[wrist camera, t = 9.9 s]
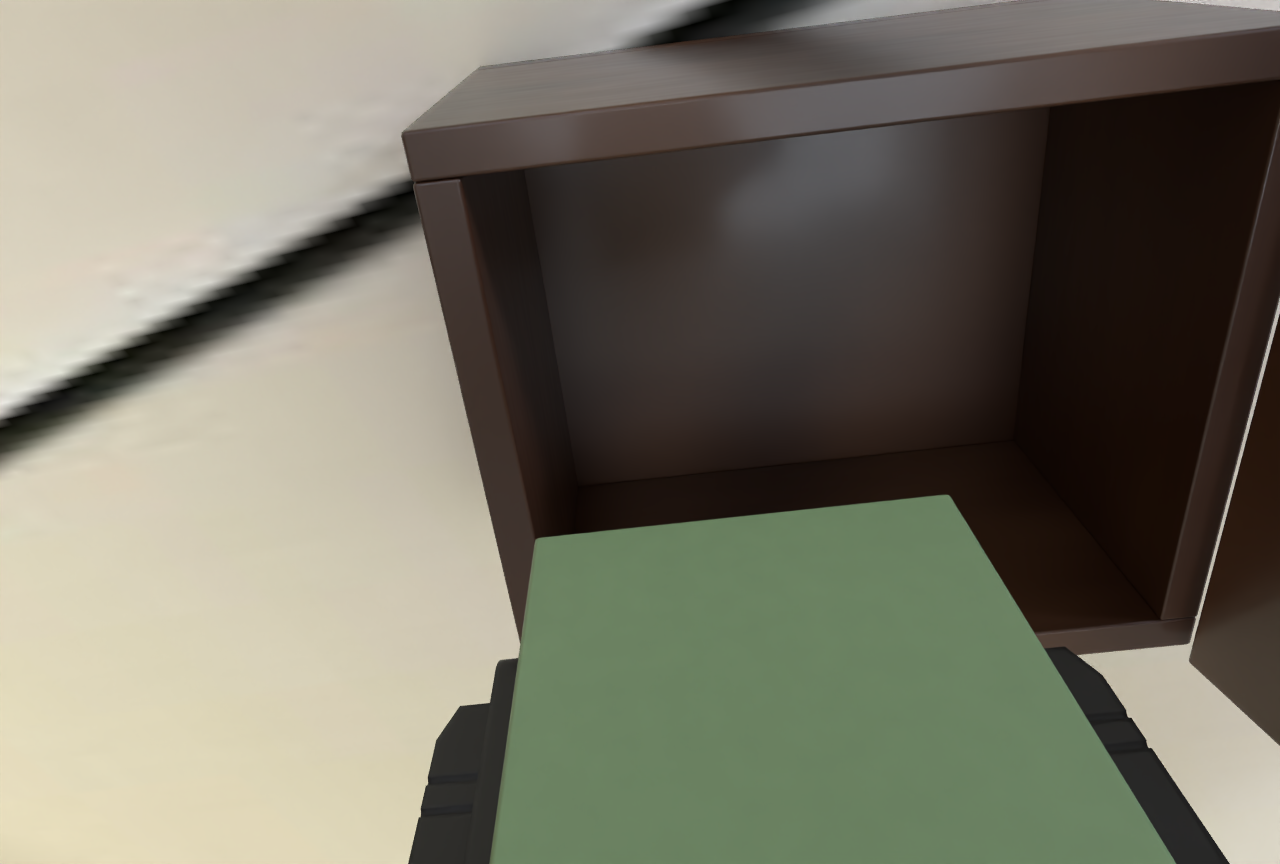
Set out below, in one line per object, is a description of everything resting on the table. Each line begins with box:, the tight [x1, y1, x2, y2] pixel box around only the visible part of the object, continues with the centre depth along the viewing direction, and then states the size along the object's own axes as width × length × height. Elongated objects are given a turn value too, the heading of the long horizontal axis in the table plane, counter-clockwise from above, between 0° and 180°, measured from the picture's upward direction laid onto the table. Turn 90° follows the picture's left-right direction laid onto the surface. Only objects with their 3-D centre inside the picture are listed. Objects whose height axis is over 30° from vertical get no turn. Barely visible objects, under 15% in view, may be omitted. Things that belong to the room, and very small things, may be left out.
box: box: [401, 0, 1280, 655], centre depth 20 cm, size 15×13×9 cm
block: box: [489, 495, 1176, 864], centre depth 9 cm, size 5×5×5 cm
